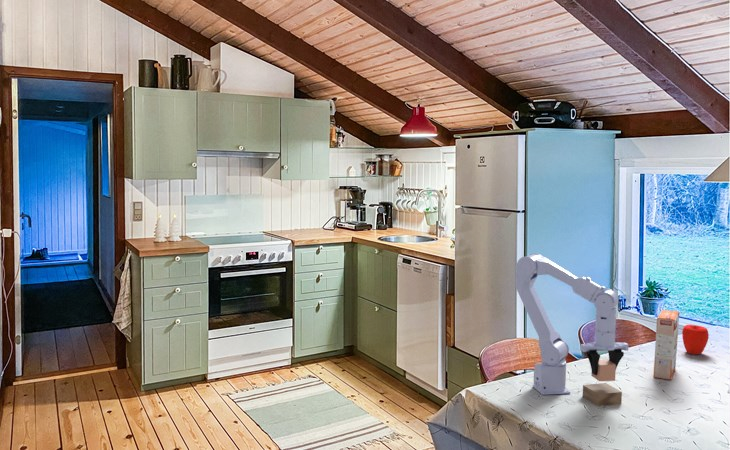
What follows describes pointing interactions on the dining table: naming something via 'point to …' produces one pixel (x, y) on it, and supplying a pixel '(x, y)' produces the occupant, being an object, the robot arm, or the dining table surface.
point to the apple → (695, 338)
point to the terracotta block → (605, 371)
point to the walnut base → (602, 394)
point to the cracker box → (666, 344)
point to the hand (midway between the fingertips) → (603, 373)
